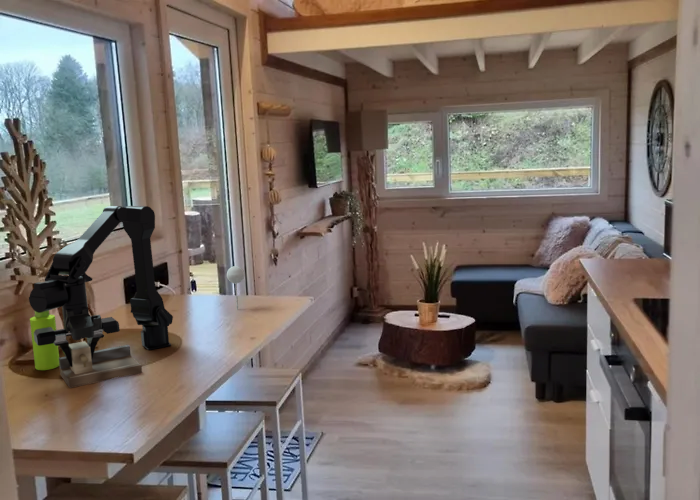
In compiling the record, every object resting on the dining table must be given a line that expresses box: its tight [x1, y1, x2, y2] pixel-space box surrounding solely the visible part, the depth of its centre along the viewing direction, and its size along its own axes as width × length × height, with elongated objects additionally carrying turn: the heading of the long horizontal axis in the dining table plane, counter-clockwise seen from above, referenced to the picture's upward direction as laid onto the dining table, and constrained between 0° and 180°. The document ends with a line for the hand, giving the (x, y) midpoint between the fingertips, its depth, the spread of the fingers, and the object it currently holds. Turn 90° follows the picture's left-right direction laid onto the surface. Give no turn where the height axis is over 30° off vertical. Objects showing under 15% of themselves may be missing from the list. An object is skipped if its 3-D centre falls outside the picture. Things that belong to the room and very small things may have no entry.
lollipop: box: [226, 265, 245, 311], centre depth 225 cm, size 6×6×15 cm
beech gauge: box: [69, 341, 93, 374], centre depth 162 cm, size 4×9×6 cm, turn 33°
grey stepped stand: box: [59, 344, 143, 389], centre depth 166 cm, size 17×11×5 cm, turn 124°
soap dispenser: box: [29, 310, 60, 371], centre depth 171 cm, size 6×7×20 cm
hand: (80, 364), depth 164 cm, fingers closed on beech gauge, 4 cm apart
